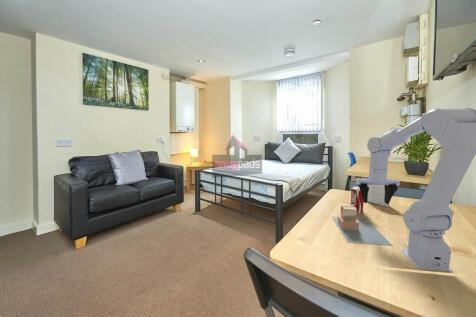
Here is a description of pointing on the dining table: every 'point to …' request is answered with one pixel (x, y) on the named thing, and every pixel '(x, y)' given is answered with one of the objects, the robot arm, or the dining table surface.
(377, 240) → the blue-grey rectangular mat
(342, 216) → the maple block
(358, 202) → the soda can
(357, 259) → the dining table surface
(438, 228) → the robot arm
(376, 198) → the photo printer
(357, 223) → the base block
